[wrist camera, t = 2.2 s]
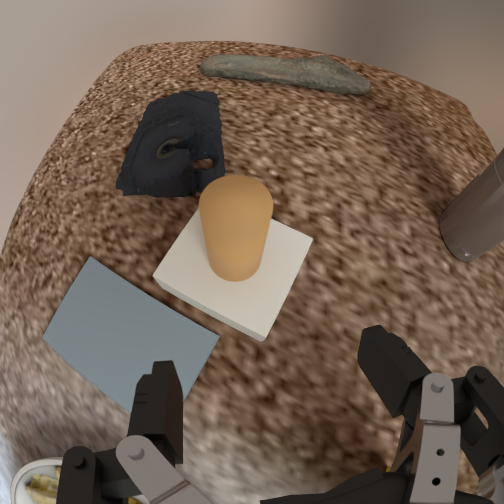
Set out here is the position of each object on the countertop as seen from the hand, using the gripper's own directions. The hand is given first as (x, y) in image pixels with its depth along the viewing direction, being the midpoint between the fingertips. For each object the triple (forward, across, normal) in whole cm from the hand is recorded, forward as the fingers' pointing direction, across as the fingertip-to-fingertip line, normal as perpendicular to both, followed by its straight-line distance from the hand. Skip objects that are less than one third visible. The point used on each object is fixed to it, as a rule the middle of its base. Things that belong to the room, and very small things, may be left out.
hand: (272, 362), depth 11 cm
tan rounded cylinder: (+17, 0, +2) cm, 17 cm away
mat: (+15, +13, +9) cm, 22 cm away
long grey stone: (+48, -15, -23) cm, 55 cm away
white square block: (+19, 0, +5) cm, 20 cm away
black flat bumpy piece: (+35, +6, -10) cm, 37 cm away
